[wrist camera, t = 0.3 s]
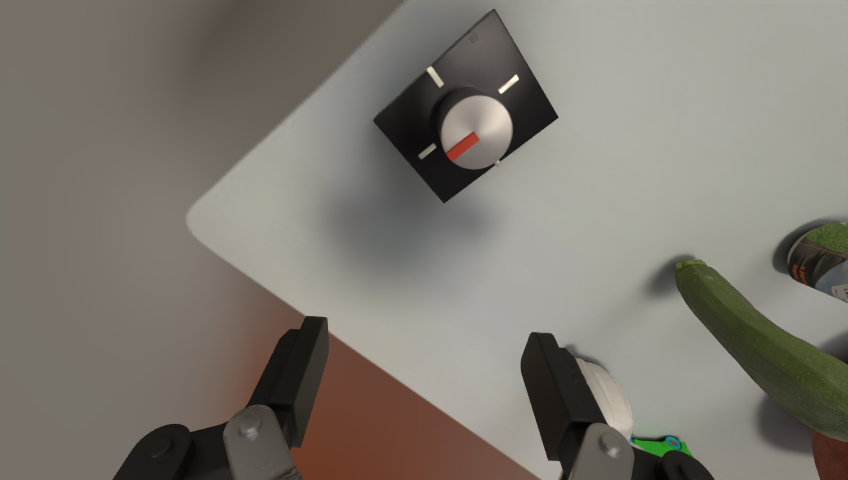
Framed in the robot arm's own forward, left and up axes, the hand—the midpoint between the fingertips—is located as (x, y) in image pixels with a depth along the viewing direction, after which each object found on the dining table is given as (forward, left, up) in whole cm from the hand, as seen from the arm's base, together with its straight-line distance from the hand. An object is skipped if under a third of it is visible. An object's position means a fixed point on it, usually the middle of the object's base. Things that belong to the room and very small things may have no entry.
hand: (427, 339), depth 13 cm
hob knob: (-6, +2, -14) cm, 16 cm away
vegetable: (+6, +25, -17) cm, 31 cm away
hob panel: (-6, +2, -17) cm, 18 cm away
